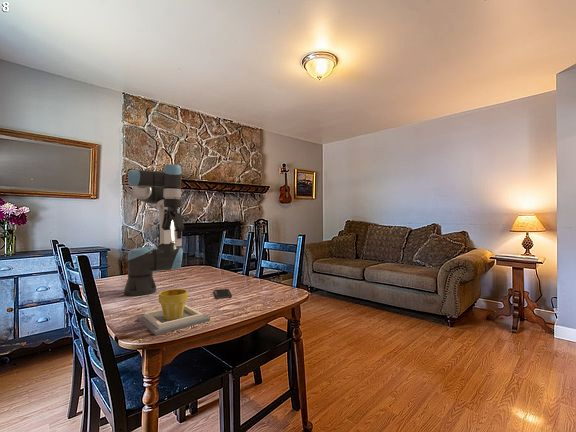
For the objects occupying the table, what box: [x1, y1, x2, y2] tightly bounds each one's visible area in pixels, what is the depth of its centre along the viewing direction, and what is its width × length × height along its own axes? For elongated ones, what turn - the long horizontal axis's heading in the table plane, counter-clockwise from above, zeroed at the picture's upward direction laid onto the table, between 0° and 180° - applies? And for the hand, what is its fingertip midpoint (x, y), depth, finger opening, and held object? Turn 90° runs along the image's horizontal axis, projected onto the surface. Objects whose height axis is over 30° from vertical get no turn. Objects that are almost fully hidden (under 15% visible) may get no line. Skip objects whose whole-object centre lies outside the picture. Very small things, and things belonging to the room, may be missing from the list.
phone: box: [213, 288, 233, 300], centre depth 150 cm, size 8×1×15 cm
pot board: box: [137, 303, 211, 336], centre depth 113 cm, size 20×20×2 cm
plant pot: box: [158, 288, 189, 320], centre depth 113 cm, size 10×10×10 cm
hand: (172, 245), depth 134 cm, fingers open, 13 cm apart
